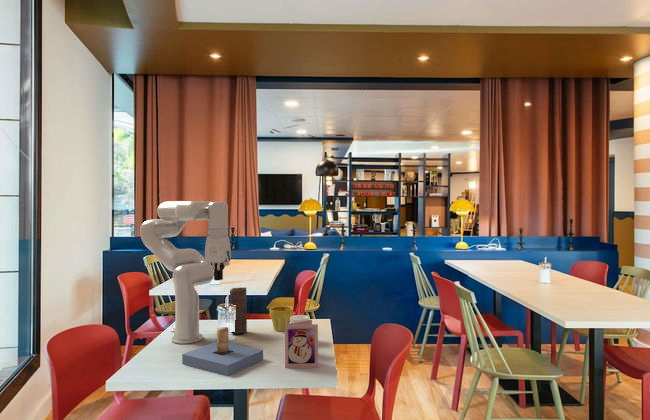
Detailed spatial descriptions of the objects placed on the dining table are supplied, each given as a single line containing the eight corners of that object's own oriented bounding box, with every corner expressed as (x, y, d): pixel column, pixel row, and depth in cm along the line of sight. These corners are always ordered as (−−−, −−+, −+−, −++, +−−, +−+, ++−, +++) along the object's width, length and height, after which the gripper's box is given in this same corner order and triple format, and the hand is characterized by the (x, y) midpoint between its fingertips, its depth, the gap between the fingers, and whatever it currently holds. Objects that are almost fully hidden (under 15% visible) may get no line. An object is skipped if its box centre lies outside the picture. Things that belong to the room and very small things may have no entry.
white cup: (295, 345, 178) (295, 320, 178) (286, 340, 185) (286, 316, 185) (312, 342, 182) (312, 318, 182) (303, 337, 189) (303, 314, 189)
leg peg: (214, 362, 159) (214, 329, 159) (222, 359, 162) (222, 326, 162) (223, 364, 157) (222, 330, 157) (231, 361, 160) (231, 328, 160)
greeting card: (284, 368, 153) (284, 325, 153) (286, 361, 160) (286, 319, 160) (318, 368, 153) (317, 324, 153) (317, 360, 160) (317, 319, 160)
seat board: (182, 363, 158) (182, 354, 158) (218, 349, 173) (218, 340, 173) (228, 375, 146) (228, 365, 146) (263, 359, 162) (263, 350, 162)
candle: (242, 336, 191) (242, 289, 191) (226, 335, 193) (226, 289, 193) (249, 331, 199) (249, 286, 199) (234, 330, 200) (233, 286, 200)
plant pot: (268, 333, 196) (268, 311, 196) (271, 326, 206) (270, 305, 206) (291, 332, 196) (291, 310, 196) (293, 326, 206) (293, 305, 206)
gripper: (197, 233, 175) (197, 279, 175) (225, 234, 167) (225, 283, 167) (211, 232, 181) (211, 277, 181) (239, 233, 173) (239, 280, 174)
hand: (218, 279), depth 174 cm, fingers closed
